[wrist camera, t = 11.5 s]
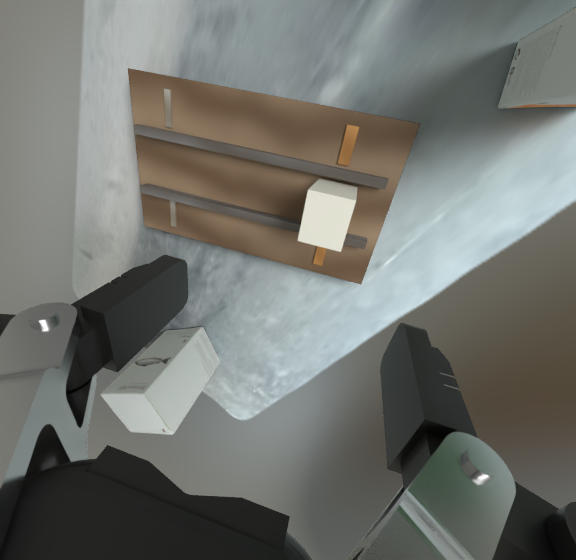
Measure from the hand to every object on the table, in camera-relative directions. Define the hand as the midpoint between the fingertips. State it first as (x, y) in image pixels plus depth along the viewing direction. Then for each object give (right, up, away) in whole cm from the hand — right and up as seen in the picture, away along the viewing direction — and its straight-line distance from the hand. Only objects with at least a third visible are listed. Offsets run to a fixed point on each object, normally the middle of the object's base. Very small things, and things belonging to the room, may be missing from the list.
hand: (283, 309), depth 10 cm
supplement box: (-15, -9, +33) cm, 37 cm away
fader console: (-3, +11, +18) cm, 22 cm away
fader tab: (+4, +8, +15) cm, 18 cm away
